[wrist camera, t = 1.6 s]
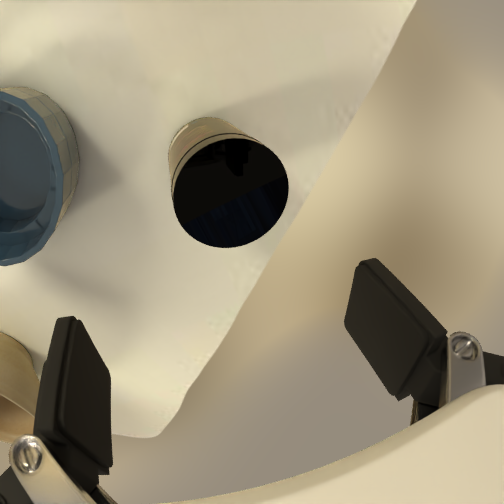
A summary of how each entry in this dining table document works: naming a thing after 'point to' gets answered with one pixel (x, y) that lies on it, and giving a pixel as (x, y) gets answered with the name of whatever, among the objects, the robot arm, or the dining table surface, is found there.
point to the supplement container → (225, 183)
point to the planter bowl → (16, 390)
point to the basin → (33, 171)
